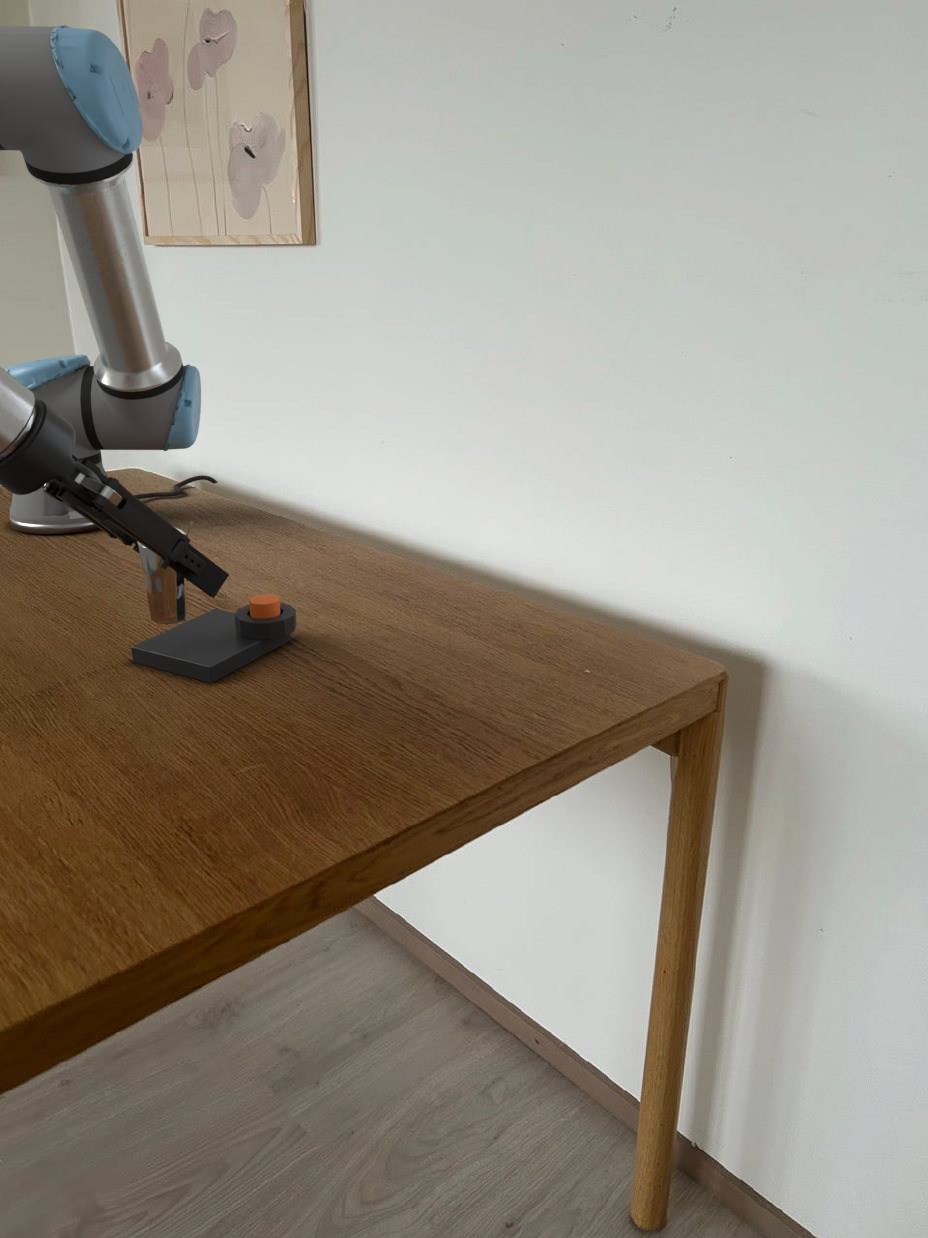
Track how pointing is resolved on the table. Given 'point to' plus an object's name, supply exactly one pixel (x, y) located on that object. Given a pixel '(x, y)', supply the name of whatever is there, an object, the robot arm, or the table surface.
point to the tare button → (264, 606)
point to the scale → (215, 643)
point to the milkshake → (163, 588)
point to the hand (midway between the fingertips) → (204, 578)
